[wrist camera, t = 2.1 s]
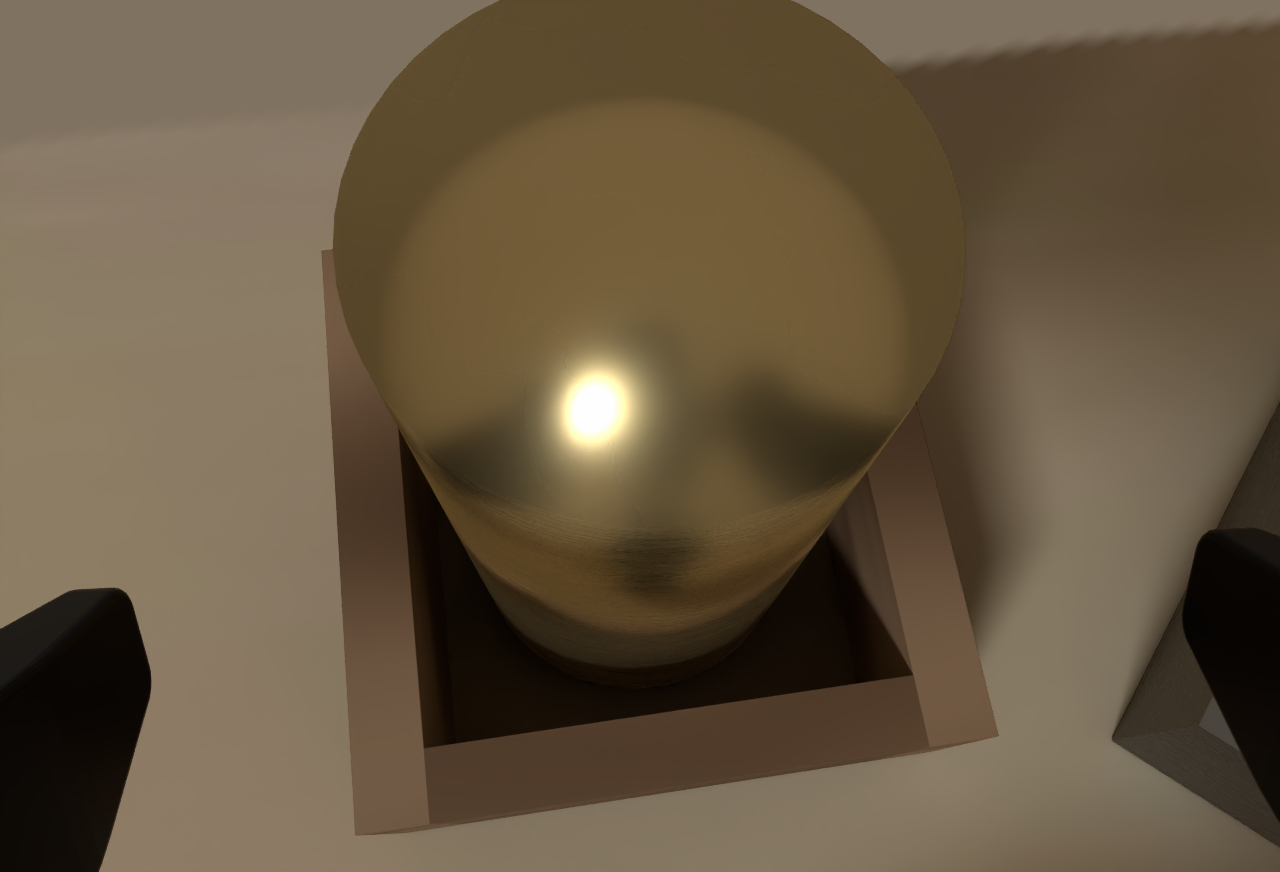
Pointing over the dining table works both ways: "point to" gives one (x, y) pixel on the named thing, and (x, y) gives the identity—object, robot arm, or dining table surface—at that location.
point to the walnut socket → (644, 745)
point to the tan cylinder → (646, 305)
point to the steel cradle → (1179, 695)
